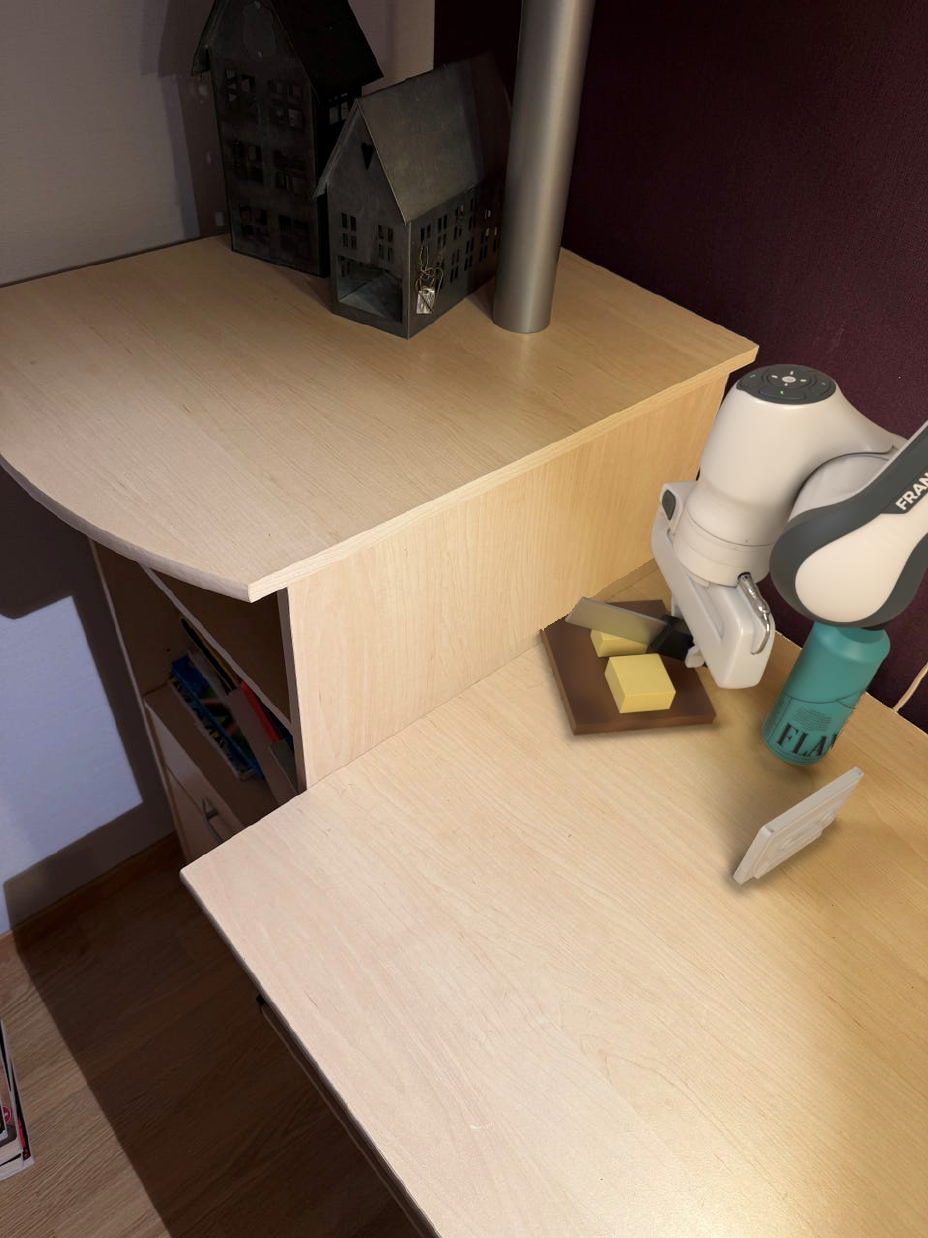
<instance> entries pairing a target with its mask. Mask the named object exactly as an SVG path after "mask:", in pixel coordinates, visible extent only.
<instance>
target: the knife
mask: <svg viewBox="0 0 928 1238" xmlns="http://www.w3.org/2000/svg"><path fill="white" fill-rule="evenodd" d="M606 603H607V602H603V601H600V600H596V599H593V598H590V597H587V596H581V598H579V600H578V601H577V602H576V603H575V604H576V605H575V607H574V608H573V609H572V611H571V612H570V613H569V615H568V616H567V617H566V619H565V620H566V622H568V623H572V624H575V625H579V626H582V627H586V628H589V629H593V630H597V631H600V632H604V633H607V634H611V635H614V636H618V637H621V638H625V639H628V640H632V641H635V642H639V643H643V644H646V645H650V647H651V649H652V651H653V653H656V654H660V655H663V656H667V657H671V658H674V659H678V660H681V661H684V660H683V657H682V652H683V650H684V647H685V645H689V644H692V645H695V644H694V642H693V639H694V638H693V636H692V634H691V632H690V630H689V628H688V626H687V624H686V621H685V620H684V619H681V618H678V617H674V616H672V614H669V615H668V614H663V615H662V617H661V618H660V619H656V618H653V617H649V616H646V615H643V614H639V613H636V612H633V611H629V610H626V609H623V608H619V607H616V606H613V605H609V604H606ZM701 667H703V668H706V669H709V668H708V666H707V664H706V662H705V661H704V664H703V665H702V666H701Z"/></svg>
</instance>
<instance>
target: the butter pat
mask: <svg viewBox="0 0 928 1238" xmlns="http://www.w3.org/2000/svg"><path fill="white" fill-rule="evenodd" d="M590 636H591V639H592V642H593V644H594V647H595V650H596V652H597V655H598V657H605V656H621V655H637V654H645V653H646V650H647V647H648V645H646V644H643V643H639V642H635V641H632V640H628V639H625V638H621V637H618V636H614V635H611V634H607V633H604V632H600V631H597V630H593V629H592V631H591V635H590Z"/></svg>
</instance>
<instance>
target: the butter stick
mask: <svg viewBox="0 0 928 1238" xmlns="http://www.w3.org/2000/svg"><path fill="white" fill-rule="evenodd" d="M605 677H606V679H607V682H608V684H609V687H610V689H611V692H612V694H613V697H614V699H615V702H616V704H617V707H618V710H619V712H620V713H628V712H640V711H651V710H663V709H669V708H670V706H671V703H672V701H673V698H674V695H675V693H676V691H675V689H674V687H673V685H672V682H671V680H670V678H669V676H668V674H667V672H666V669H665V667H664V665H663V663H662V661H661V659H660V656H659V654H643V655H630V656H616V657H610V658H609V661H608V664H607V668H606V671H605Z"/></svg>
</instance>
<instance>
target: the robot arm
mask: <svg viewBox="0 0 928 1238" xmlns="http://www.w3.org/2000/svg"><path fill="white" fill-rule="evenodd" d="M699 461H700V462H699V476H698V479H697V480H680V481H670V482H664V483H662V485H661V489H660V492H659V499H658V500H659V502H660V504H659V505H658V508H657V509H656V512H655V517H654V519H653V524H652V528H651V531H650V537H649V541H650V543H649V545H650V552H651V555H652V557H653V559H654V560H655V563H656V564H657V566H658V568H659V570H660V572H661V575H662V577H663V579H664V580H665V583H666V585H667V586H668V589H669V591H670V593H671V598H670V599H671V600H670V601H671V604H670V606H671V608H670V609H671V616H674V617H678V618H681V619H684V620H685V621H686V624H687V626H688V628H689V630H690V632H691V634H692V636H693V638H694V639H693V642H694V644H695V645H692V644H689V645H685V647H684V650H683V652H682V657H683V660H684V662H685V664H686V666H687V667H688V668H690V667H694V668H700V667H703V666H702V665H703V664H704V661H705V662H706V664H707V666H708V668H707V669H708V670H709V672H710V674H711V677H712V679H713V680H714V683H715V684H716V686H717V687H718V688H720V689H726V690H727V689H731V690H733V689H734V690H736V689H738V690H739V689H746V688H752V687H755V686H757V685H758V684H759V683H760V681H761V679H762V677H763V675H764V672H765V670H766V667H767V664H768V661H769V659H770V656H771V652H772V650H773V646H774V642H775V637H776V624H775V620H774V617H773V614H772V613H771V609H770V606H769V604H768V602H767V600H765V599H764V597H763V596H762V595H761V592H760V590H759V587H758V586H757V585H758V584H757V583H759V582H761V581H762V580H763V579H765V578H766V577H767V576H768V575H769V574H770V578H771V581H772V583H773V585H774V588H775V589H776V590H777V592H778V593H779V595H780V596H781V597H782V599H783V600H784V601H785V602H786V603H787V604H788V605H789V606H790V607H792V609H793V610H794V611H796V612H797V613H798V614H800V615H801V616H803V617H805V618H807V619H808V620H811V621H813V622H818V623H821V624H824V625H828V626H832V627H839V628H862V627H869V626H874V625H878V624H881V623H884V622H886V621H889V620H891V619H892V620H893V619H894V618H896V617H897V616H899V615H901V614H902V613H903V612H904V611H905V610H906V609H907V608H908V607H909V606H910V604H911V603H912V602H913V600H914V598H915V596H916V594H917V592H918V590H919V587H920V586H921V583H922V580H923V578H924V576H925V573H926V571H927V569H928V419H927V420H926V421H925V422H924V423H923V424H922V426H920V427H919V429H918V430H917V431H916V432H915V433H914V434H913V435H912V436H911V437H910V438H907V437H906V436H904V435H901V434H899V433H897V432H893V431H889V430H886V429H884V428H883V427H881V426H880V425H878V424H876V423H875V422H873V421H872V420H870V419H869V418H867V416H865V415H863V414H862V413H861V412H860V411H859V410H858V409H856V407H854V406H853V405H852V404H851V403H850V402H849V401H848V399H847V398H846V396H844V394H843V393H842V390H841V388H840V387H839V385H838V383H837V382H836V381H835V380H834V378H832V377H831V376H829V375H828V374H826V373H825V372H823V371H820V370H819V369H815V368H813V367H810V366H806V365H801V364H794V363H777V364H773V365H772V364H771V365H767V366H762V367H757V368H755V369H753V370H751V371H749V372H748V373H745V374H744V375H743V376H741V377H740V378H739V379H738V380H737V381H736V382H735V383H734V384H733V385H732V386H731V388H730V390H729V391H728V392H727V394H726V396H725V398H724V399H723V401H722V403H721V405H720V407H719V409H718V411H717V414H716V416H715V419H714V421H713V423H712V426H711V428H710V430H709V433H708V436H707V439H706V441H705V444H704V447H703V450H702V453H701V457H700V460H699Z"/></svg>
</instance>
